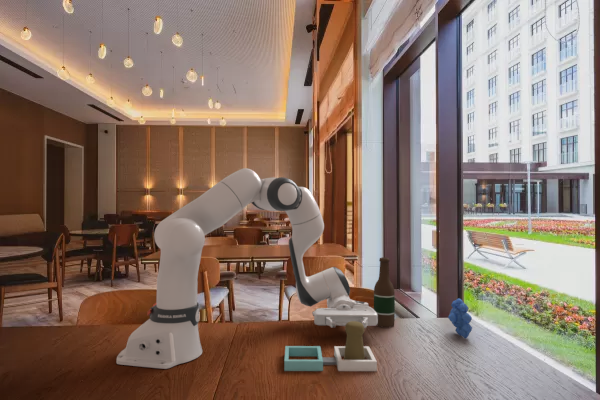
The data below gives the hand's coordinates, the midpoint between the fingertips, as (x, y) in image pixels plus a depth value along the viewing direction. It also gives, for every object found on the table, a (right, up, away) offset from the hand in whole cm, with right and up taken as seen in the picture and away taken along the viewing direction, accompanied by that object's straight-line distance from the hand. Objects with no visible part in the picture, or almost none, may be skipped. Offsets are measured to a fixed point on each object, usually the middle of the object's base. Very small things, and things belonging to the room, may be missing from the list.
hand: (348, 325), depth 109 cm
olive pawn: (0, -7, -10) cm, 12 cm away
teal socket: (-14, -7, -10) cm, 19 cm away
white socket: (-2, -7, -10) cm, 12 cm away
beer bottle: (+16, -8, +22) cm, 28 cm away
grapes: (+38, -8, +11) cm, 40 cm away
